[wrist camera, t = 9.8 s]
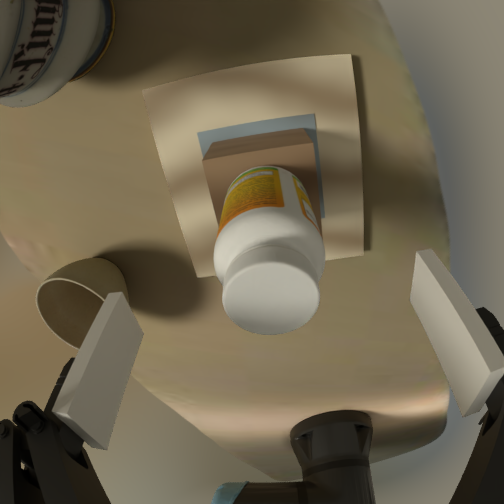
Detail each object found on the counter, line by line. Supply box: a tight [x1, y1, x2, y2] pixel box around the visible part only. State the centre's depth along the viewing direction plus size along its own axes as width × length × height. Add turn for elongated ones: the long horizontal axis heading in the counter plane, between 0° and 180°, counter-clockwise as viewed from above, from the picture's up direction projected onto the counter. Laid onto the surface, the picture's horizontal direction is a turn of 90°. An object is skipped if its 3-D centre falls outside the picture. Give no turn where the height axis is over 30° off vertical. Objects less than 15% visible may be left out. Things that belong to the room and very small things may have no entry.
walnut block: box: [202, 128, 323, 240], centre depth 23 cm, size 7×7×5 cm
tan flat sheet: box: [142, 54, 364, 278], centre depth 26 cm, size 18×16×1 cm
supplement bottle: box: [214, 166, 325, 335], centre depth 17 cm, size 5×5×10 cm
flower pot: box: [36, 258, 129, 350], centre depth 29 cm, size 10×10×7 cm
